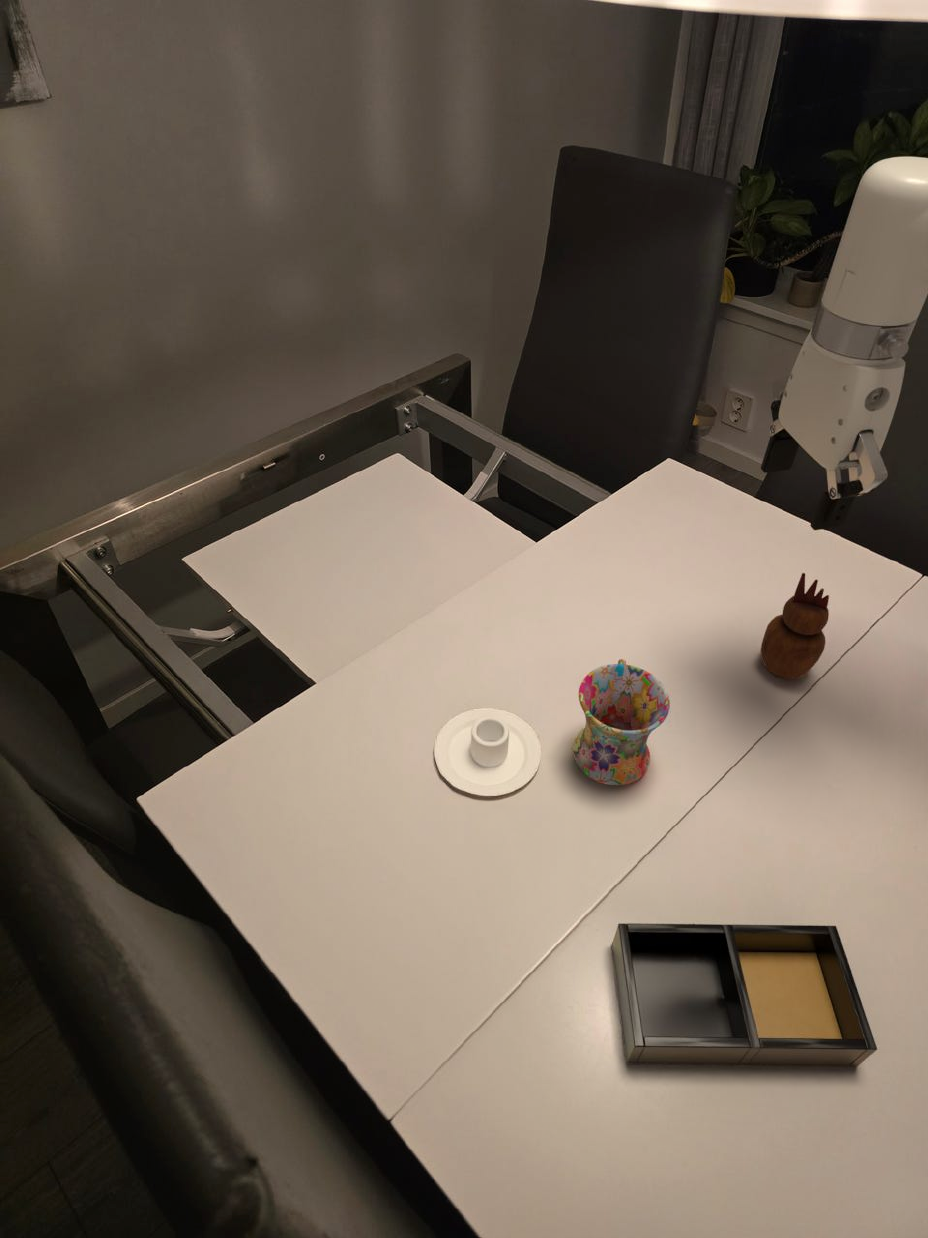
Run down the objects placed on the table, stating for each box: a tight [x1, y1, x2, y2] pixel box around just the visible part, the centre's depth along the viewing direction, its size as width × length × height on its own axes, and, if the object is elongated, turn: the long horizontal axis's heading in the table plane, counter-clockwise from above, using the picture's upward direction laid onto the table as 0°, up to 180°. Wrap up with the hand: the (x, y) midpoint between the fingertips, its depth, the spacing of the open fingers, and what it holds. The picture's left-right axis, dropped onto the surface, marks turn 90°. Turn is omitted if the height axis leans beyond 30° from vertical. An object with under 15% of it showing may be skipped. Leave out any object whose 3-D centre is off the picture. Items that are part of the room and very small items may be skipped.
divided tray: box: [610, 922, 878, 1068], centre depth 68 cm, size 19×10×5 cm, turn 89°
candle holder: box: [433, 707, 542, 797], centre depth 87 cm, size 12×12×4 cm
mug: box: [572, 658, 671, 786], centre depth 85 cm, size 12×9×11 cm
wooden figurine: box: [760, 572, 830, 680], centre depth 92 cm, size 7×6×15 cm
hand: (799, 497), depth 78 cm, fingers open, 9 cm apart
